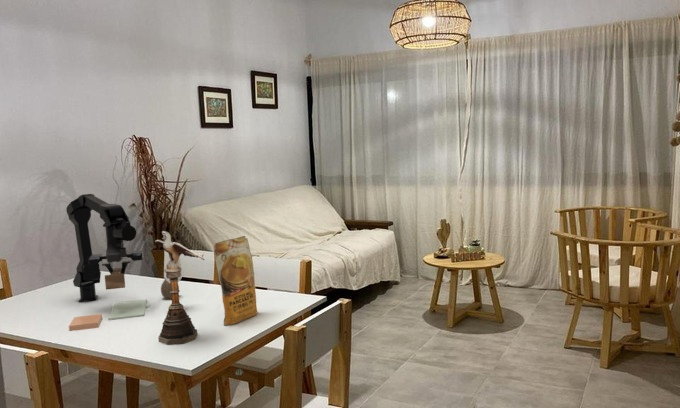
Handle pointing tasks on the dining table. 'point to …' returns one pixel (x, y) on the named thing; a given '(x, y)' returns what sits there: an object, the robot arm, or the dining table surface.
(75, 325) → the tile
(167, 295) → the vase
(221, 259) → the pancake mix bag
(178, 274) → the bird statue
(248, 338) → the dining table surface
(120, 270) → the brown wooden block
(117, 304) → the rest board
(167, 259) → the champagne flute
